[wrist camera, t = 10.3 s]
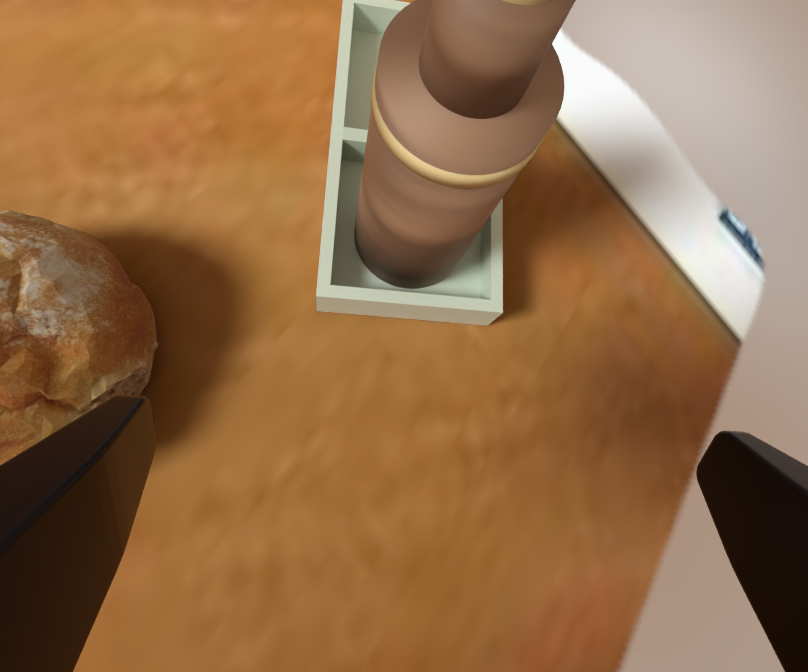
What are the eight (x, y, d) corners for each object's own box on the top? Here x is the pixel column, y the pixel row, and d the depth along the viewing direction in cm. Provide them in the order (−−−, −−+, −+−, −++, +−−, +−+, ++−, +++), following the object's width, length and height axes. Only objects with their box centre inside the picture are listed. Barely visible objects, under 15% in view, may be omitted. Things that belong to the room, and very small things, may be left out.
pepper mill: (482, 266, 23) (712, -15, 9) (381, 307, 22) (478, 53, 8) (434, 171, 24) (584, -214, 10) (334, 206, 22) (353, -177, 9)
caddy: (487, 325, 23) (502, 312, 21) (316, 310, 22) (316, 296, 20) (489, 51, 26) (502, 18, 24) (342, 27, 25) (343, -9, 23)
